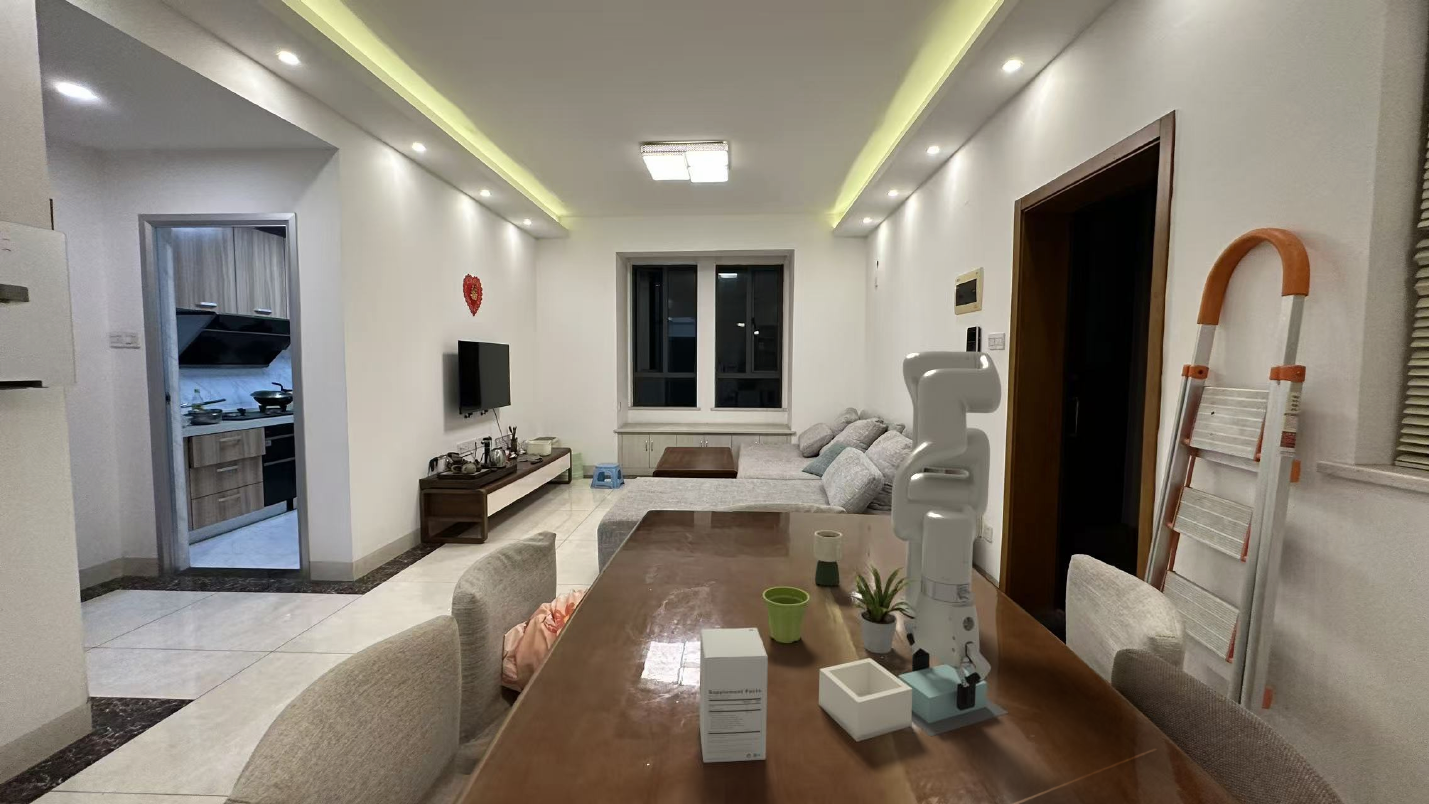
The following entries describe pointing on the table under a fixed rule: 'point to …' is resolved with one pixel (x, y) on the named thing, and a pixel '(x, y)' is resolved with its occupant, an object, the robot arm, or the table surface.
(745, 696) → the supplement box
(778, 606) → the plant pot
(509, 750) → the table surface
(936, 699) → the teal rectangular block
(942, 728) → the mat
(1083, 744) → the table surface
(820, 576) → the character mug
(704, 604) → the table surface
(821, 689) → the white open-top box
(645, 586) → the table surface
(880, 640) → the house plant
